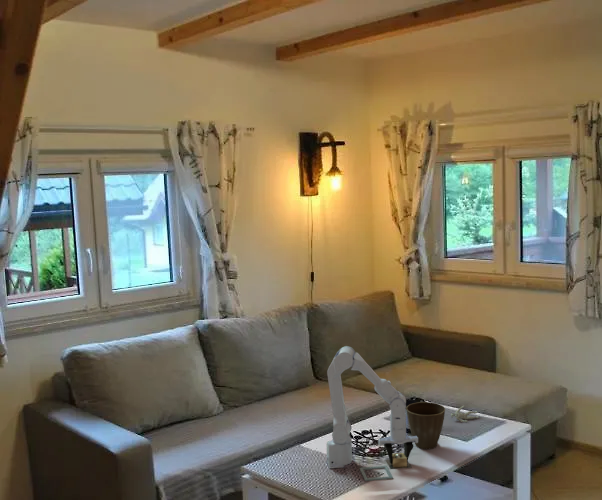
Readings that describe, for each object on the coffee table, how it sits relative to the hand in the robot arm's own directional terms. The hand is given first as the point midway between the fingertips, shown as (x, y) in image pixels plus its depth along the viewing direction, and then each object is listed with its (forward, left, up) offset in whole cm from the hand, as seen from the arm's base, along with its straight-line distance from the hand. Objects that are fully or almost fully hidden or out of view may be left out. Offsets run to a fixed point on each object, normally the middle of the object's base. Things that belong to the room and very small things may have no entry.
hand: (398, 462), depth 262 cm
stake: (0, 0, -2) cm, 2 cm away
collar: (0, 0, -1) cm, 1 cm away
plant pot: (+15, +15, -2) cm, 21 cm away
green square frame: (-10, -7, -2) cm, 12 cm away
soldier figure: (+40, +42, -2) cm, 58 cm away
